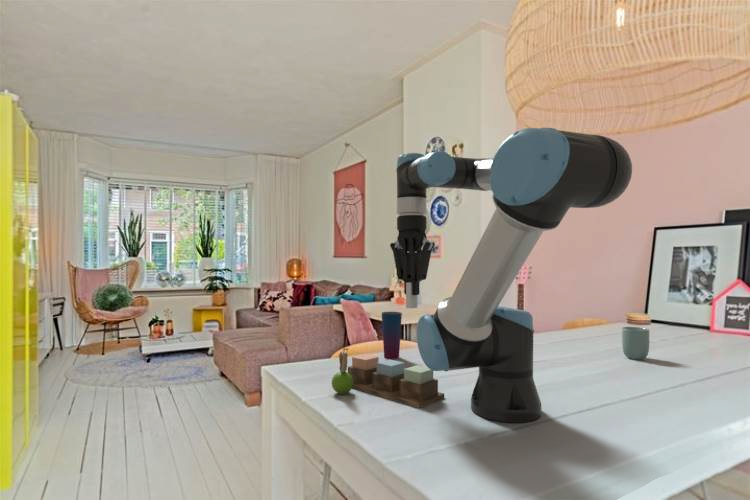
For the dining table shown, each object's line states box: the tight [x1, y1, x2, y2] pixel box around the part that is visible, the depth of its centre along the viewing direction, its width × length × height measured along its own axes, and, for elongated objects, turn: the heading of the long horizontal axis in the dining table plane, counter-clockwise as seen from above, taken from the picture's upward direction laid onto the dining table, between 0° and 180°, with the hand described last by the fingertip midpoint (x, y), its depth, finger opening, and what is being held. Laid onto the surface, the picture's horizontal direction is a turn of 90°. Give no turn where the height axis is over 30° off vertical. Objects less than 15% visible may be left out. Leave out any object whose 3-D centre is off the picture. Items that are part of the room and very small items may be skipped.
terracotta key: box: [351, 353, 379, 371], centre depth 121 cm, size 5×5×3 cm
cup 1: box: [381, 311, 403, 360], centre depth 151 cm, size 7×7×15 cm
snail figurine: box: [331, 347, 353, 395], centre depth 112 cm, size 5×6×12 cm
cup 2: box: [621, 326, 650, 361], centre depth 151 cm, size 8×8×10 cm
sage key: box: [404, 364, 434, 385], centre depth 108 cm, size 5×5×3 cm
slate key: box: [377, 359, 405, 377], centre depth 115 cm, size 5×5×3 cm
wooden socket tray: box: [347, 365, 445, 409], centre depth 115 cm, size 26×10×5 cm, turn 47°
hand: (411, 307), depth 115 cm, fingers closed
